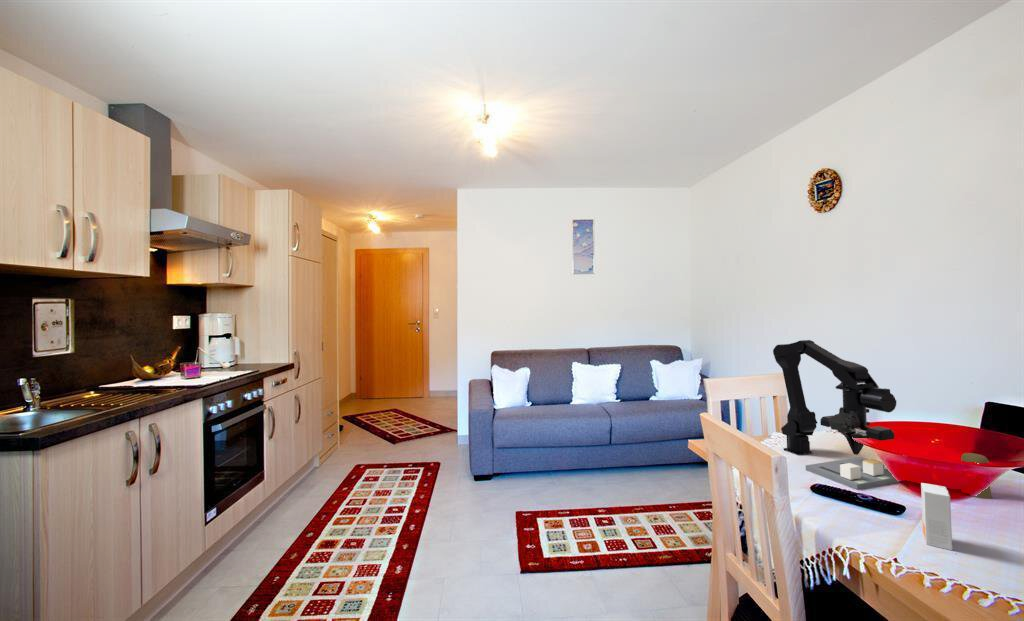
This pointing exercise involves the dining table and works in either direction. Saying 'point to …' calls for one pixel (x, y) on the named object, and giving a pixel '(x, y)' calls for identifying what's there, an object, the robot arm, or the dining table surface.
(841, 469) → the block
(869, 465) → the block
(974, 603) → the dining table surface
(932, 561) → the dining table surface
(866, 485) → the panel
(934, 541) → the skincare box
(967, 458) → the cork
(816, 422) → the robot arm
